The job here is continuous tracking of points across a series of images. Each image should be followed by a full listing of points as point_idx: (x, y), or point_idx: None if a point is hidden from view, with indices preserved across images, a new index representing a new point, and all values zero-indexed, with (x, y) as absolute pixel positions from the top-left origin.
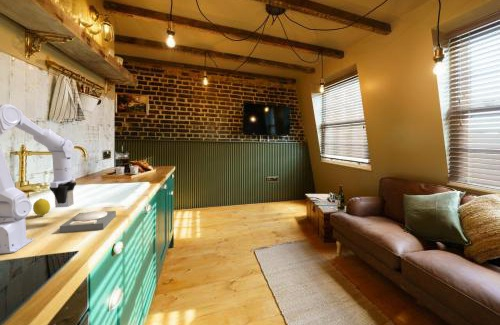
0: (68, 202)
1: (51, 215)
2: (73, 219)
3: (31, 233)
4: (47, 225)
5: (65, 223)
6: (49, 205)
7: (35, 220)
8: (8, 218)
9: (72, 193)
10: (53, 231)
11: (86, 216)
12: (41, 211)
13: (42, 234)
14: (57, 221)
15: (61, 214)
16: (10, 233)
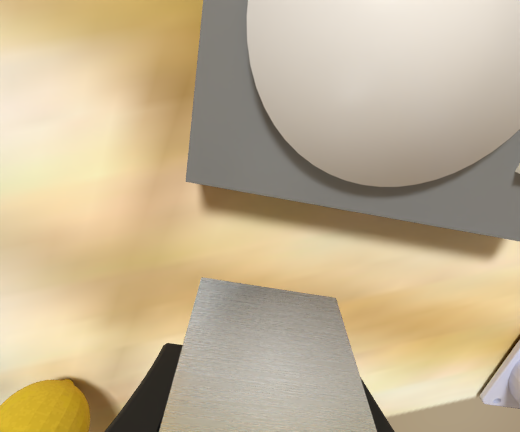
0: (340, 337)
1: (60, 346)
2: (394, 188)
3: (401, 346)
4: None
5: (481, 223)
6: (12, 422)
7: None
8: None
9: (180, 422)
10: (439, 261)
11: (444, 77)
12: (84, 415)
13: (460, 298)
14: None
15: (45, 303)
16: None
